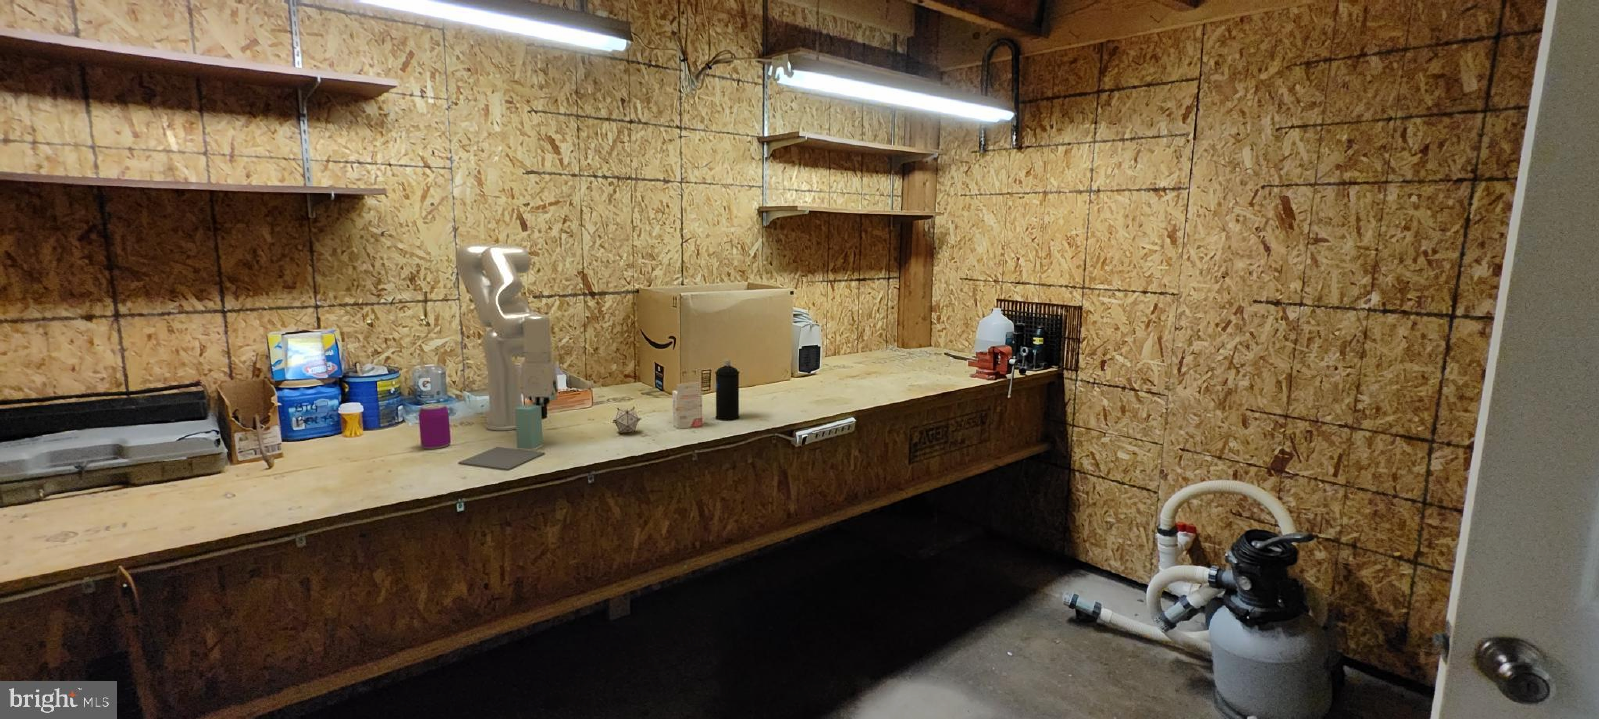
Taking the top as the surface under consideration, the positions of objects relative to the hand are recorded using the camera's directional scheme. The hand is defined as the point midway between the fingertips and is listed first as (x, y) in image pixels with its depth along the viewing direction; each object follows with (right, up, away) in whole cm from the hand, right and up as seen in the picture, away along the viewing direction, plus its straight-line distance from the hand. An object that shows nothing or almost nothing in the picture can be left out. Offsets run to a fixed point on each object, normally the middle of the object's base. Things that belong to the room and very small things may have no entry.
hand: (541, 418), depth 210 cm
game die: (+22, -6, +13) cm, 26 cm away
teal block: (-2, -8, -4) cm, 9 cm away
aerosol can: (+52, -3, +33) cm, 61 cm away
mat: (-5, -10, -15) cm, 19 cm away
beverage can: (-29, -8, -4) cm, 30 cm away
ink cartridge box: (+40, -4, +22) cm, 45 cm away
